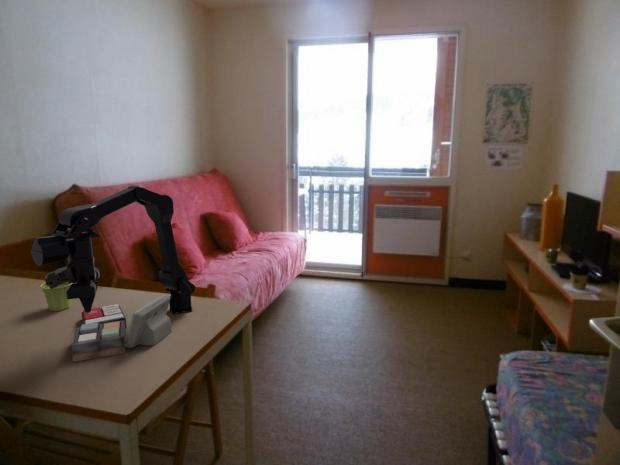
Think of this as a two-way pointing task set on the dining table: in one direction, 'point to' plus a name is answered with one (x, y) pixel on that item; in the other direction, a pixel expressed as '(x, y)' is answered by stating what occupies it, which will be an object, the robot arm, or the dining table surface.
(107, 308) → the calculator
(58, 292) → the plant pot
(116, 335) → the key sage
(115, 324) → the key terracotta
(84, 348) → the keypad
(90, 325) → the key slate
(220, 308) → the dining table surface
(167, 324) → the digital clock
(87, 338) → the key cream
